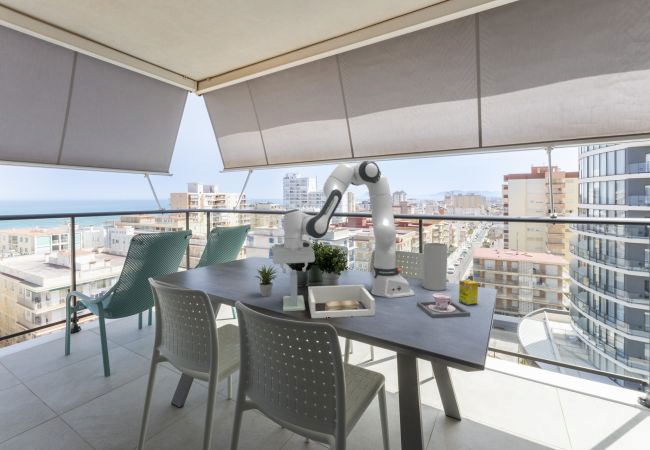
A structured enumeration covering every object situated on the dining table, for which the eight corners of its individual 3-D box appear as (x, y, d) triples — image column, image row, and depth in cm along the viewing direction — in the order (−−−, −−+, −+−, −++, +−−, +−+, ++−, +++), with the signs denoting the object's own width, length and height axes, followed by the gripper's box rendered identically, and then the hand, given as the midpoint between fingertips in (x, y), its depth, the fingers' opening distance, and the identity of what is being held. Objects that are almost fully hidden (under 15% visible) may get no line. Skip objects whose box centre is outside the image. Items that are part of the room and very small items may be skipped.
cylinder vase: (448, 291, 180) (449, 246, 178) (424, 290, 182) (425, 245, 180) (443, 285, 192) (444, 243, 190) (421, 284, 194) (422, 242, 192)
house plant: (274, 300, 165) (273, 268, 164) (248, 299, 168) (247, 267, 167) (283, 292, 179) (282, 262, 178) (259, 291, 182) (258, 262, 181)
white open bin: (363, 300, 166) (363, 284, 165) (374, 315, 144) (374, 297, 143) (308, 302, 163) (308, 286, 162) (311, 318, 141) (311, 300, 140)
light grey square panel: (297, 306, 154) (297, 276, 152) (290, 306, 153) (290, 276, 152) (296, 297, 167) (296, 270, 166) (290, 297, 167) (290, 270, 166)
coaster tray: (450, 303, 160) (450, 300, 159) (470, 316, 143) (470, 312, 143) (417, 305, 158) (417, 302, 157) (432, 317, 141) (432, 314, 141)
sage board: (303, 297, 171) (303, 295, 171) (305, 310, 151) (305, 308, 151) (283, 297, 170) (283, 296, 170) (283, 311, 150) (283, 308, 150)
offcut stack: (355, 309, 153) (355, 299, 153) (360, 313, 147) (360, 304, 147) (324, 311, 150) (324, 302, 150) (328, 316, 144) (328, 306, 143)
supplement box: (458, 302, 162) (459, 280, 161) (468, 301, 164) (468, 279, 163) (467, 306, 156) (468, 283, 155) (477, 304, 158) (478, 282, 157)
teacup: (423, 308, 154) (423, 295, 153) (437, 303, 161) (437, 290, 161) (446, 315, 145) (446, 301, 144) (460, 309, 152) (461, 296, 152)
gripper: (271, 245, 153) (272, 274, 154) (314, 243, 156) (315, 272, 157) (271, 243, 160) (272, 271, 161) (313, 241, 162) (314, 269, 163)
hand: (294, 272), depth 159 cm, fingers open, 8 cm apart
